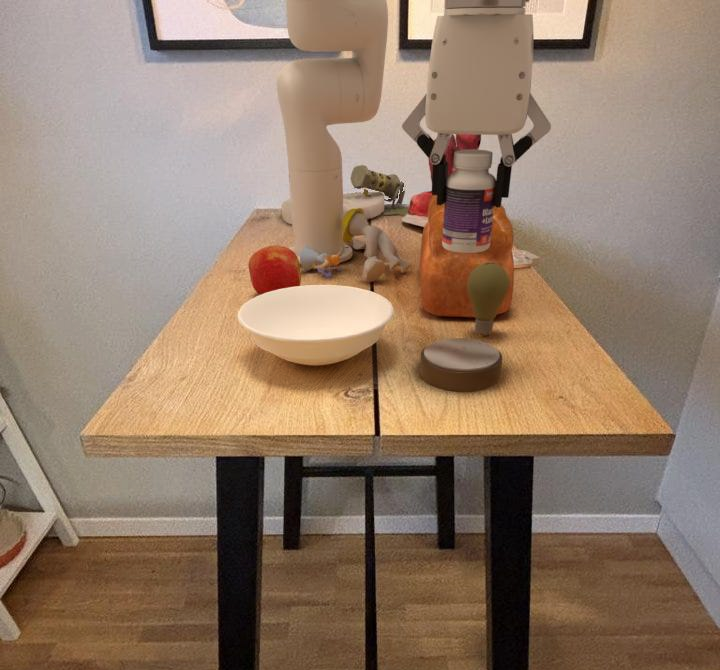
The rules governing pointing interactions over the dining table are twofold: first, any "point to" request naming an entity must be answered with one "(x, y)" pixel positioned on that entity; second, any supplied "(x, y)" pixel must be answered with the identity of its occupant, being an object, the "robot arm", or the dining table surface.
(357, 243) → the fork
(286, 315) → the bowl
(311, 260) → the fairy figurine
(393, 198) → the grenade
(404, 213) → the map
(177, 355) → the dining table surface
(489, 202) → the pill bottle
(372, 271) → the figurine
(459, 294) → the bread
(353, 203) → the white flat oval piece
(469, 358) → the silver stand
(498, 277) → the light bulb
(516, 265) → the stamped metal plate
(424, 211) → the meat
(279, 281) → the apple
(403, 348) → the dining table surface
